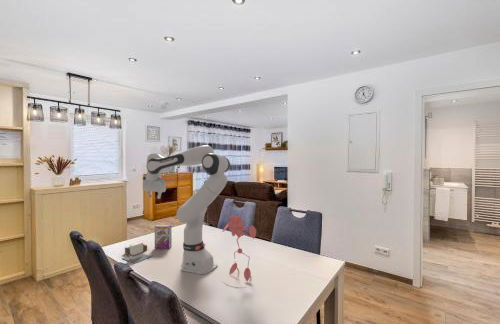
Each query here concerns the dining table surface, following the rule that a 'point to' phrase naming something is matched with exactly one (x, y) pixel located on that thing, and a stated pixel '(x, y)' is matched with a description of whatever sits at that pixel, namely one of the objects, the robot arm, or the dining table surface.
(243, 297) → the dining table surface
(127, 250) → the wooden card holder
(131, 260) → the mat
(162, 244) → the candy bar box
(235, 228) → the red stick figure
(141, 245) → the white upright block
